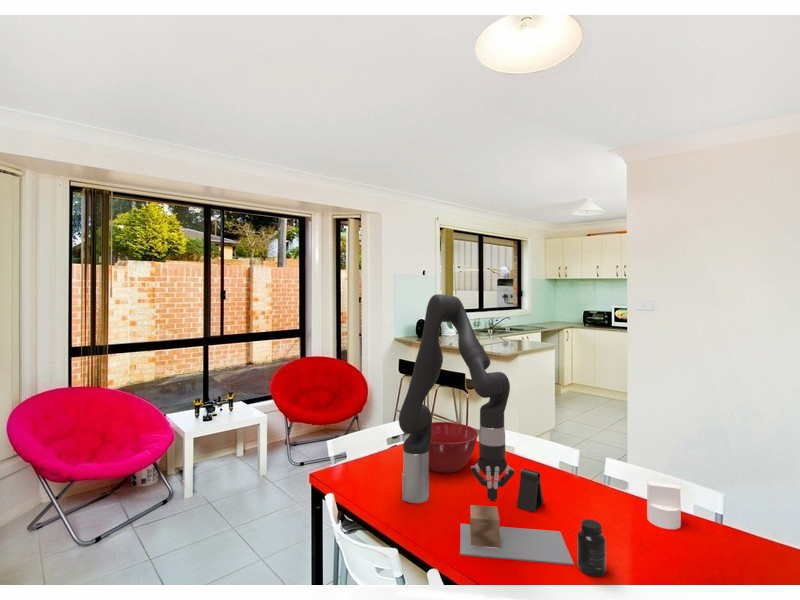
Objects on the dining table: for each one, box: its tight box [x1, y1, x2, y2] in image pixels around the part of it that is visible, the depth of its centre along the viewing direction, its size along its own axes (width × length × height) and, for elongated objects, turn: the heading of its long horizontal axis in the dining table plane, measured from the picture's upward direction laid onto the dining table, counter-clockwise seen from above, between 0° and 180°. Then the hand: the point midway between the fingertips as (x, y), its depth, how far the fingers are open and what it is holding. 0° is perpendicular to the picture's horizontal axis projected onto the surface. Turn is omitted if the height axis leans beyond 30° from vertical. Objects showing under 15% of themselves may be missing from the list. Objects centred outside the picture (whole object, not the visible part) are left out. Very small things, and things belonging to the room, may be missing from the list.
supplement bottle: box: [576, 518, 607, 578], centre depth 110 cm, size 7×7×12 cm
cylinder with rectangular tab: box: [646, 481, 682, 530], centre depth 133 cm, size 9×9×12 cm
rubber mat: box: [459, 523, 575, 566], centre depth 122 cm, size 30×16×1 cm, turn 81°
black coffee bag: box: [516, 468, 545, 514], centre depth 145 cm, size 9×6×12 cm, turn 140°
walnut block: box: [469, 504, 500, 549], centre depth 123 cm, size 8×8×8 cm
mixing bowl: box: [429, 421, 479, 474], centre depth 178 cm, size 28×28×16 cm
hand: (492, 499), depth 123 cm, fingers closed
